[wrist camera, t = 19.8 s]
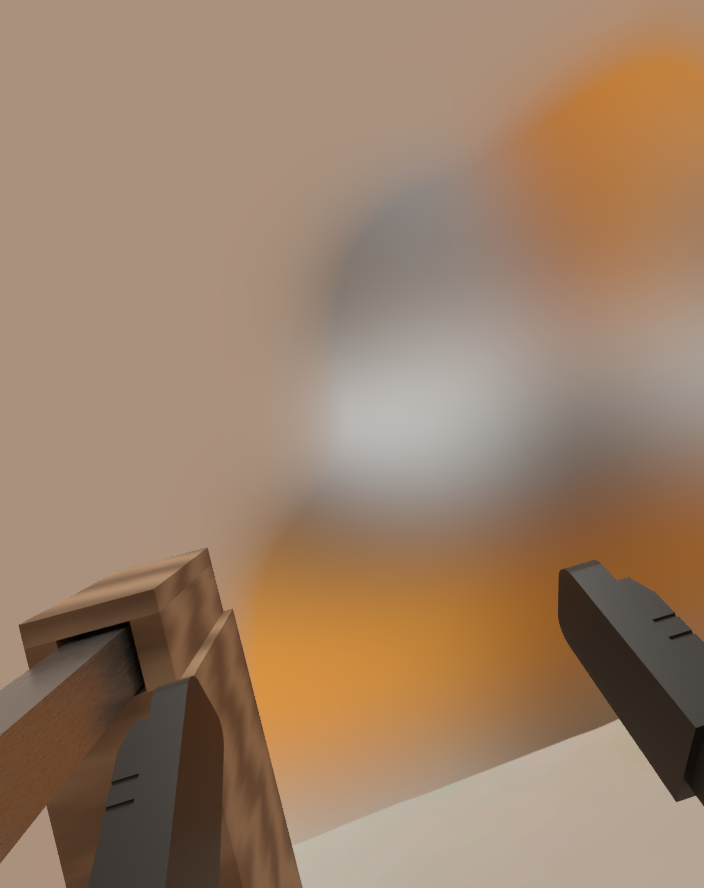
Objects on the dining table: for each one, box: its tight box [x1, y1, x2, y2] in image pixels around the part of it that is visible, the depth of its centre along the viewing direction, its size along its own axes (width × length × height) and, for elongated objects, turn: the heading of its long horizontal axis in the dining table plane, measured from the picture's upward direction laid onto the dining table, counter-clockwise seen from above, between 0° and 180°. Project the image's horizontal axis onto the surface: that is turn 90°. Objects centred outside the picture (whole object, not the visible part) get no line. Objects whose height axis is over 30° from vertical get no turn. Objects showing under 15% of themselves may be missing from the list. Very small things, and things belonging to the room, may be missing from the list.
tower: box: [19, 548, 302, 888], centre depth 30 cm, size 12×8×37 cm, turn 4°
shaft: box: [0, 621, 144, 863], centre depth 19 cm, size 27×3×3 cm, turn 4°
